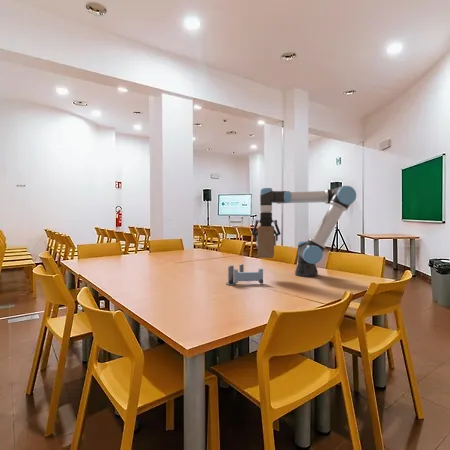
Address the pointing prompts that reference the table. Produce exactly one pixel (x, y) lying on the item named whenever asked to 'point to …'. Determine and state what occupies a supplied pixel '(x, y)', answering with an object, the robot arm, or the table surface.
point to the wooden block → (266, 241)
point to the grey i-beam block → (248, 276)
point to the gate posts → (231, 274)
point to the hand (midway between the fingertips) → (266, 245)
